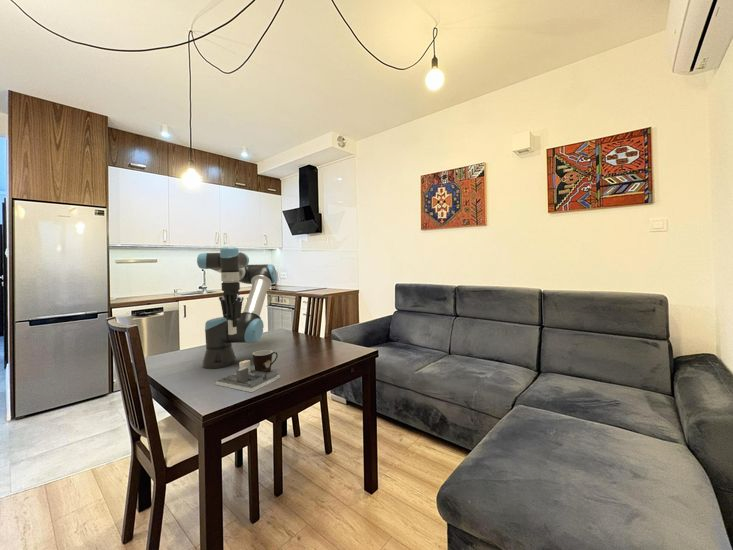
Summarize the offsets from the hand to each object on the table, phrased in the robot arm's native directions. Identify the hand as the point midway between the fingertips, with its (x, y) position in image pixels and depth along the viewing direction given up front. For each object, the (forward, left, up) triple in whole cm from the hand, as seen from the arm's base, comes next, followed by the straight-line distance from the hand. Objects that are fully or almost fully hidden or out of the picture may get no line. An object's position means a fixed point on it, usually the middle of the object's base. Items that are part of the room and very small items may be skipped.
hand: (232, 333), depth 142 cm
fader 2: (+14, -8, -17) cm, 23 cm away
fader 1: (+7, 0, -17) cm, 18 cm away
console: (+13, -4, -18) cm, 23 cm away
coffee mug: (+13, +7, -19) cm, 24 cm away
